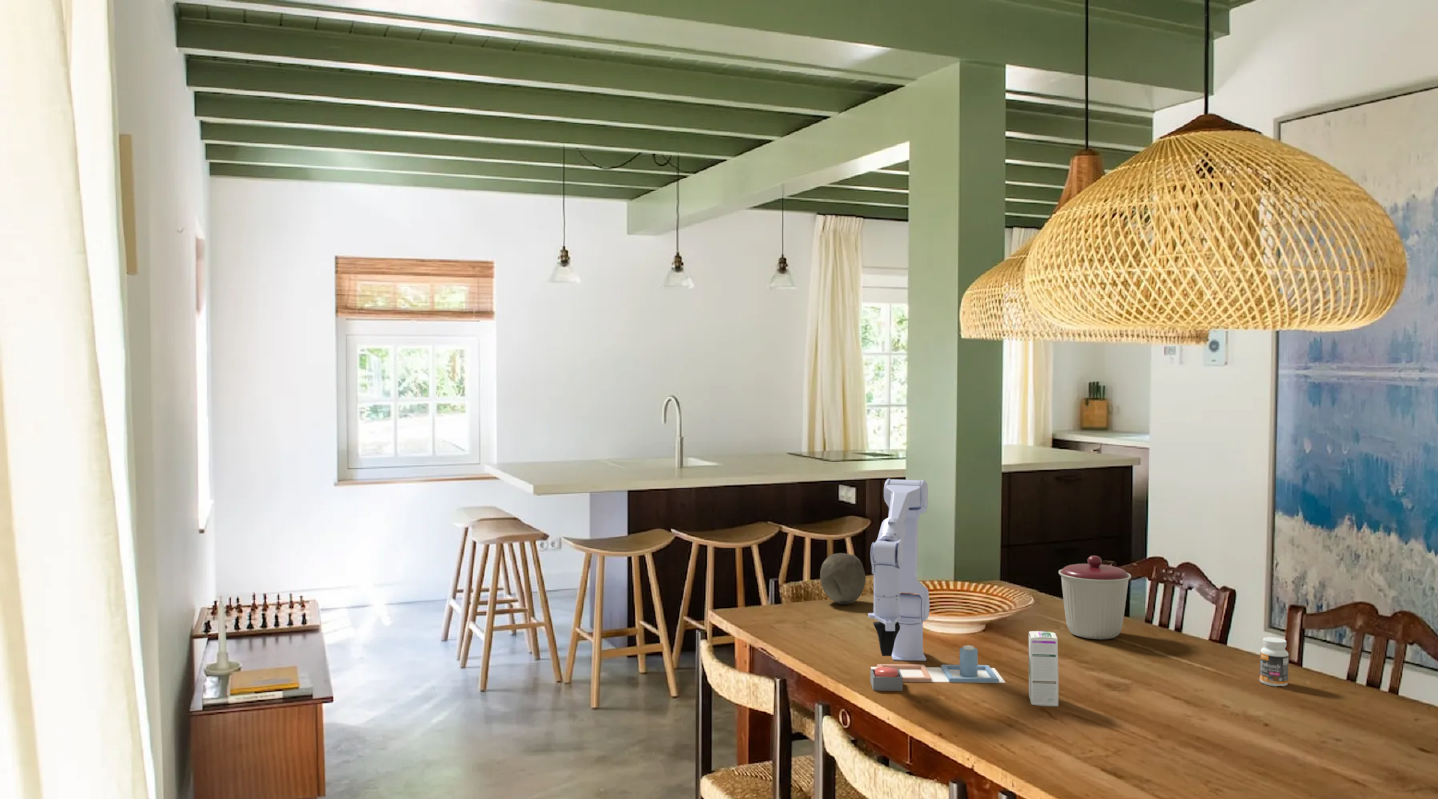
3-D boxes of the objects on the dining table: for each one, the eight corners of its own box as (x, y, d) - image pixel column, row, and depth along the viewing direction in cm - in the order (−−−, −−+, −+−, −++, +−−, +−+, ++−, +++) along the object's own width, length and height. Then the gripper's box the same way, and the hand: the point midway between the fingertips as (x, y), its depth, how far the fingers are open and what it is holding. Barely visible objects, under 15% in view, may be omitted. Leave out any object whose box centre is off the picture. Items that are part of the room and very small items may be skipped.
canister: (1122, 647, 270) (1123, 564, 269) (1050, 637, 280) (1050, 557, 279) (1136, 632, 285) (1137, 553, 285) (1067, 623, 295) (1068, 547, 294)
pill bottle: (1256, 683, 239) (1256, 639, 239) (1264, 678, 243) (1264, 635, 243) (1283, 689, 235) (1284, 644, 235) (1291, 683, 239) (1292, 639, 239)
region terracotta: (877, 667, 252) (877, 664, 252) (924, 667, 252) (924, 664, 252) (882, 681, 241) (882, 677, 241) (931, 681, 241) (931, 678, 241)
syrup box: (1059, 706, 223) (1059, 638, 223) (1029, 705, 224) (1030, 636, 224) (1056, 698, 229) (1056, 631, 228) (1027, 696, 230) (1027, 630, 230)
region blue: (941, 668, 251) (941, 664, 251) (988, 668, 251) (988, 665, 251) (949, 681, 240) (949, 678, 240) (998, 682, 240) (998, 678, 240)
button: (873, 675, 240) (873, 666, 240) (896, 675, 240) (896, 667, 240) (876, 682, 235) (876, 673, 235) (899, 682, 235) (899, 673, 235)
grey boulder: (876, 604, 318) (876, 554, 318) (837, 610, 311) (837, 559, 311) (847, 596, 330) (847, 547, 330) (809, 601, 323) (809, 552, 323)
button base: (870, 682, 241) (870, 669, 241) (899, 682, 241) (899, 669, 240) (873, 690, 234) (873, 677, 234) (902, 691, 234) (902, 677, 234)
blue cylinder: (956, 673, 247) (956, 644, 247) (972, 672, 248) (972, 644, 248) (964, 678, 243) (964, 649, 243) (980, 677, 244) (980, 648, 244)
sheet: (870, 667, 253) (870, 666, 253) (994, 668, 251) (994, 668, 251) (875, 681, 241) (875, 681, 241) (1005, 683, 240) (1005, 682, 240)
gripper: (865, 587, 244) (865, 646, 245) (871, 601, 230) (871, 664, 230) (896, 587, 244) (896, 646, 244) (904, 602, 229) (904, 664, 230)
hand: (886, 655), depth 237 cm, fingers closed
